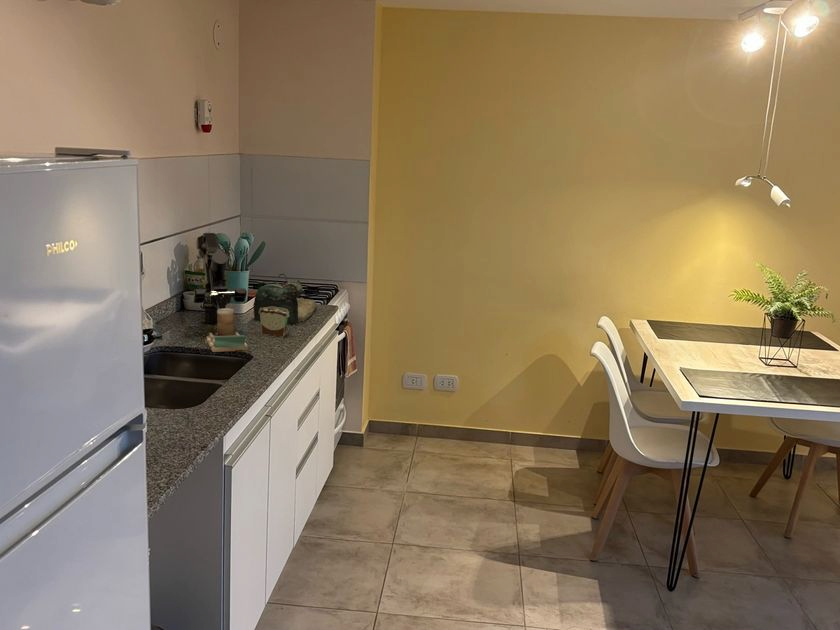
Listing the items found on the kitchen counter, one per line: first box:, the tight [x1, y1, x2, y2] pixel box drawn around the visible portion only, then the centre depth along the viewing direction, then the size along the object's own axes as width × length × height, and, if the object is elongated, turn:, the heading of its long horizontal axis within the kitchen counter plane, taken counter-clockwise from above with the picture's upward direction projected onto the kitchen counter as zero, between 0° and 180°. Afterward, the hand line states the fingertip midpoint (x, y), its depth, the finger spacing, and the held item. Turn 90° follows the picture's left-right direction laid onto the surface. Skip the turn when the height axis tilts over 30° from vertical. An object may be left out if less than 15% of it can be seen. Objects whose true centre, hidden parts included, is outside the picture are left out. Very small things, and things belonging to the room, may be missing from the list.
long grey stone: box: [297, 297, 317, 323], centre depth 331 cm, size 35×5×10 cm
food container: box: [258, 306, 289, 338], centre depth 292 cm, size 12×6×10 cm, turn 71°
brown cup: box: [215, 307, 235, 336], centre depth 275 cm, size 6×6×10 cm
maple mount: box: [206, 331, 249, 353], centre depth 274 cm, size 16×12×5 cm
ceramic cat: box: [252, 273, 304, 325], centre depth 311 cm, size 20×6×20 cm, turn 76°
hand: (222, 314), depth 282 cm, fingers closed
